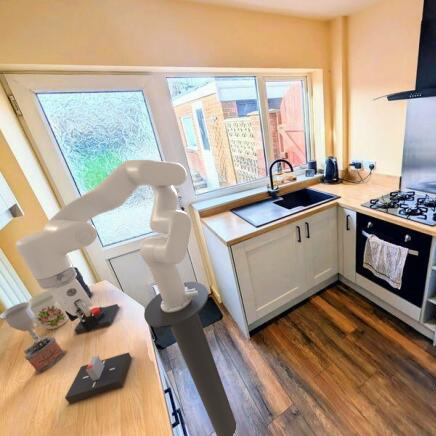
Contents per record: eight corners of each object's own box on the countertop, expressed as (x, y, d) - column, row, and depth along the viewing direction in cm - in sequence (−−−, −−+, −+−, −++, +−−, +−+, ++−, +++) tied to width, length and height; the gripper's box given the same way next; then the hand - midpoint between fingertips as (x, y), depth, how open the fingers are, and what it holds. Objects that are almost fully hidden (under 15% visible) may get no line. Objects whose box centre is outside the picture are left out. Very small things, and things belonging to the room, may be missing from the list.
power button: (102, 309, 102) (100, 306, 101) (98, 315, 99) (96, 312, 98) (92, 311, 101) (90, 308, 100) (88, 318, 98) (86, 315, 97)
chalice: (32, 357, 88) (2, 320, 80) (26, 349, 91) (-3, 313, 84) (57, 341, 93) (31, 305, 86) (51, 334, 97) (25, 299, 89)
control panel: (132, 358, 83) (128, 351, 82) (122, 387, 75) (118, 380, 73) (85, 372, 80) (80, 366, 79) (69, 404, 72) (64, 397, 70)
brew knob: (99, 367, 78) (91, 356, 76) (104, 365, 78) (97, 354, 76) (93, 381, 74) (85, 369, 72) (99, 379, 74) (91, 368, 72)
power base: (119, 307, 107) (115, 300, 105) (110, 325, 98) (106, 317, 97) (88, 315, 104) (83, 308, 103) (76, 334, 96) (71, 326, 94)
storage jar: (76, 308, 109) (60, 282, 103) (60, 306, 112) (43, 280, 106) (97, 293, 118) (83, 267, 112) (82, 291, 120) (67, 266, 114)
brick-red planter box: (61, 350, 89) (47, 331, 85) (67, 353, 88) (53, 333, 84) (34, 371, 82) (17, 351, 78) (40, 374, 81) (23, 354, 77)
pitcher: (25, 331, 100) (5, 306, 94) (79, 305, 111) (64, 281, 105) (26, 346, 93) (4, 320, 87) (84, 316, 104) (68, 291, 98)
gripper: (88, 275, 65) (113, 323, 72) (60, 262, 73) (85, 305, 80) (53, 293, 59) (84, 343, 66) (27, 276, 67) (57, 322, 74)
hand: (85, 322), depth 73 cm, fingers open, 9 cm apart
